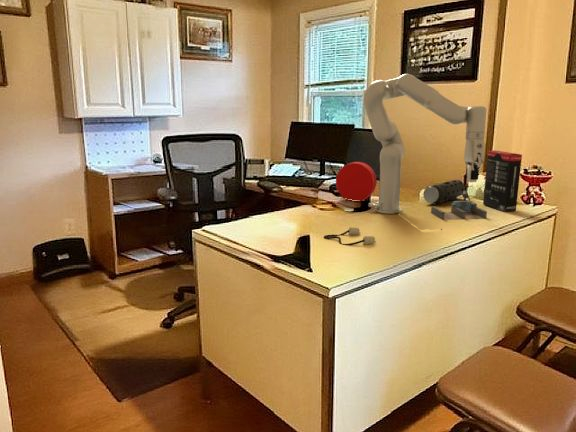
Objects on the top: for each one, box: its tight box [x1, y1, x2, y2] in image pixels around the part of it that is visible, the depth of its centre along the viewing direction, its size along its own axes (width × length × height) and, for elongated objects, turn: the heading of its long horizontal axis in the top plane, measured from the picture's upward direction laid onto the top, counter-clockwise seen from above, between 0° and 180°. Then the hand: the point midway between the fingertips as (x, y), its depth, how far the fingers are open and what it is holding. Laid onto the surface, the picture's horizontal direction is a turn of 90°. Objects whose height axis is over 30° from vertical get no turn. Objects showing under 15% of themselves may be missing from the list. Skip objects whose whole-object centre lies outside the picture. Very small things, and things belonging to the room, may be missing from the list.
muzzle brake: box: [423, 179, 466, 205], centre depth 244 cm, size 10×28×10 cm, turn 135°
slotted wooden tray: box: [430, 200, 488, 221], centre depth 211 cm, size 20×14×6 cm
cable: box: [323, 226, 377, 246], centre depth 177 cm, size 16×16×4 cm
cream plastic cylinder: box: [466, 163, 478, 183], centre depth 206 cm, size 4×4×8 cm
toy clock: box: [335, 161, 377, 202], centre depth 245 cm, size 20×6×20 cm, turn 66°
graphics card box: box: [482, 150, 523, 213], centre depth 227 cm, size 17×7×27 cm, turn 14°
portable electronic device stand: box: [462, 190, 471, 201], centre depth 227 cm, size 9×8×8 cm
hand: (471, 178), depth 206 cm, fingers closed on cream plastic cylinder, 4 cm apart
